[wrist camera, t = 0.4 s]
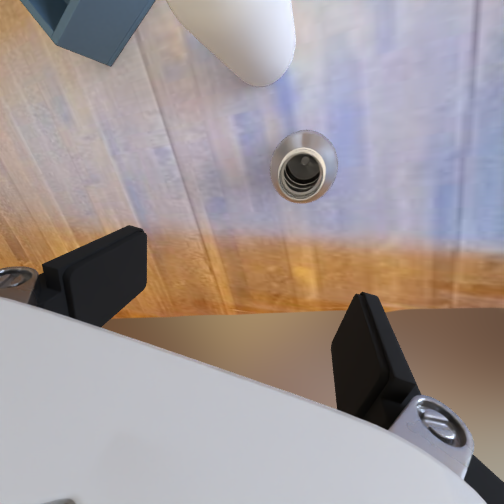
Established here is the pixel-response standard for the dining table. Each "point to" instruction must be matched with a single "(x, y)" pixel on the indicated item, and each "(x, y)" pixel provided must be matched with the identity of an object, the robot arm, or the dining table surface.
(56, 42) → the chest
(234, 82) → the dining table surface
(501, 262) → the dining table surface
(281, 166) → the silver metal bottle
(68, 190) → the dining table surface
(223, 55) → the alcohol
